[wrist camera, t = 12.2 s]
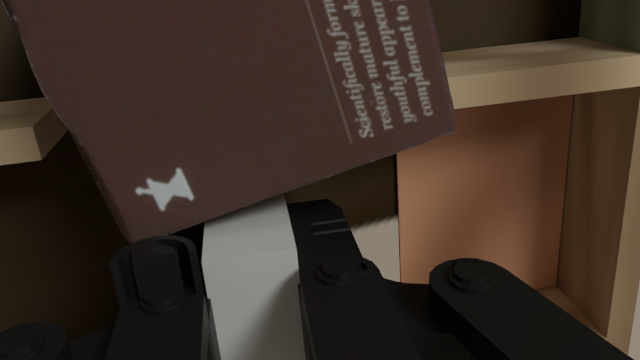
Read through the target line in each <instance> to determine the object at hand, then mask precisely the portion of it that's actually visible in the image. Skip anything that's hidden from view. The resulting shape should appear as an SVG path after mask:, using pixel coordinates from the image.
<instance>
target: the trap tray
mask: <svg viewBox="0 0 640 360" xmlns="http://www.w3.org/2000/svg"><path fill="white" fill-rule="evenodd" d="M442 56H443V60H444V65H445V70H446V75H447V79H448V84H449V89H450V94H451V97H452V101H453V106H454V114H455V120H456V128H457V129H456V131H455V132H454V133H452V134H449V135H446V136H443V137H440V138H437V139H434V140H432V141H429V142H427V143H424V144H421V145H418V146H415V147H413V148H410V149H407V150H404V151H401V152H398V153H396V162H397V193H398V224H399V253H400V254H399V256H400V282H403V283H416V284H429V273H430V272H431V271H432V270H433V268H434V267H435V266H437V265H439V264H441V263H443V262H445V261H448V260H454V259H459V258H478V259H481V260H485V261H489V262H493V263H495V264H497V265H499V266H501V267H503V268H505V269H507V270H508V271H509V272H511V273H512V274H514V275H515V276H516V277H518V278H519V279H521V280H522V281H523V282H525V283H526V284H528V285H529V286H531V287H532V288H533V289H535V290H536V291H538V292H539V293H540V294H542V295H543V296H545V297H546V298H547V299H549V300H550V301H552V302H553V303H554V304H556V305H557V306H559V307H560V308H562V309H563V310H564V311H566V312H567V313H569V314H570V315H571V316H573V317H574V318H576V319H577V320H578V321H580V322H581V323H583V324H584V325H586V326H587V327H588V328H590V329H591V330H593V331H594V332H595V333H597V334H598V335H600V336H601V337H602V338H604V339H605V340H607V341H608V342H609V343H611V344H612V345H614V346H615V347H617V348H618V349H619V350H621V351H622V352H624V353H625V354H626V355H628V350H629V343H630V337H631V331H632V324H633V318H634V311H635V305H636V299H637V292H638V286H639V279H640V0H582V1H581V12H580V23H579V34H578V37H574V38H565V39H556V40H547V41H538V42H529V43H521V44H512V45H503V46H494V47H485V48H476V49H467V50H458V51H450V52H442ZM67 131H68V128H67V127H66V125H65V124H64V123H63V122H62V120H61V119H60V118H59V117H58V116H57V114H56V113H55V112H54V110H53V109H52V107H51V105H50V103H49V102H48V100H47V99H46V98H45V97H41V98H32V99H23V100H14V101H5V102H0V165H7V164H15V163H23V162H31V161H39V160H43V158H44V157H45V156H46V155H47V154H48V153H49V151H50V150H51V149H52V148H53V147H54V146H55V144H56V143H57V142H58V141H59V140H60V139H61V138H62V136H63V135H64V134H65V133H66V132H67Z"/></svg>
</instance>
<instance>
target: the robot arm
mask: <svg viewBox="0 0 640 360" xmlns="http://www.w3.org/2000/svg"><path fill="white" fill-rule="evenodd" d="M109 265H110V269H111V273H112V277H113V281H114V285H115V289H116V293H117V297H118V301H119V305H120V308H119V312H118V315H117V318H116V322H114V323H112V324H111V325H109V326H107V327H105V328H102V329H100V330H97V331H95V332H92V333H89V334H86V335H83V336H80V337H78V338H75V339H72V340H69V341H68V337H67V334H66V330H65V329H64V328H63V327H61V326H60V325H58V324H57V323H50V322H35V323H26V324H21V325H18V326H17V327H16V326H14V327H12V328H9V329H7V330H5V331H4V332H2V333H0V360H633V359H632V358H631V357H629V356H628V355H626V354H625V353H624V352H622V351H621V350H619V349H618V348H617V347H615V346H614V345H612V344H611V343H609V342H608V341H607V340H605V339H604V338H602V337H601V336H600V335H598V334H597V333H595V332H594V331H593V330H591V329H590V328H588V327H587V326H586V325H584V324H583V323H581V322H580V321H578V320H577V319H576V318H574V317H573V316H571V315H570V314H569V313H567V312H566V311H564V310H563V309H562V308H560V307H559V306H557V305H556V304H554V303H553V302H552V301H550V300H549V299H547V298H546V297H545V296H543V295H542V294H540V293H539V292H538V291H536V290H535V289H533V288H532V287H531V286H529V285H528V284H526V283H525V282H523V281H522V280H521V279H519V278H518V277H516V276H515V275H514V274H512V273H511V272H509V271H508V270H507V269H505V268H503V267H501V266H499V265H497V264H495V263H493V262H489V261H485V260H481V259H478V258H459V259H454V260H448V261H445V262H443V263H441V264H439V265H437V266H435V267H434V268H433V270H432V271H431V272H430V273H429V284H416V283H403V282H395V281H392V280H388V279H384V278H383V277H382V275H381V273H380V271H379V269H378V268H377V267H376V265H375V264H374V263H373V262H372V261H370V260H367V259H365V258H363V257H362V255H361V252H360V250H359V248H358V246H357V243H356V241H355V239H354V236H353V234H352V232H351V230H350V227H349V225H348V223H347V221H346V218H345V216H344V214H343V211H342V209H341V207H339V206H338V205H336V204H335V203H333V202H331V201H330V200H328V199H322V200H314V201H307V202H299V203H291V204H286V201H285V197H284V193H282V194H279V195H276V196H273V197H270V198H268V199H265V200H262V201H260V202H257V203H254V204H251V205H248V206H246V207H243V208H240V209H237V210H234V211H232V212H229V213H226V214H223V215H221V216H218V217H215V218H212V219H210V220H207V221H204V222H202V223H199V224H196V225H193V226H191V227H188V228H185V229H182V230H180V231H177V232H175V233H172V234H169V235H166V236H155V237H150V238H145V239H141V240H139V241H136V242H134V243H131V244H129V245H126V246H125V247H123V248H122V249H120V250H119V251H117V252H116V253H115V254H114V255H113V256H112V258H111V259H110V261H109Z"/></svg>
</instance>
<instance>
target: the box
mask: <svg viewBox="0 0 640 360" xmlns="http://www.w3.org/2000/svg"><path fill="white" fill-rule="evenodd" d="M0 1H1V3H2V5H3V7H4V9H5V11H6V13H7V15H8V17H9V20H10V21H11V23H12V25H13V26H14V28H15V30H16V32H17V33H18V35H19V37H20V39H21V41H22V43H23V45H24V47H25V50H26V54H27V57H28V60H29V63H30V66H31V68H32V71H33V73H34V75H35V77H36V80H37V82H38V84H39V86H40V89H41V91H42V93H43V95H44V96H45V98H46V99H47V100H48V102H49V103H50V105H51V107H52V109H53V110H54V112H55V113H56V114H57V116H58V117H59V118H60V119H61V120H62V122H63V123H64V124H65V125H66V127H67V128H68V130H69V132H70V134H71V136H72V138H73V140H74V142H75V144H76V145H77V147H78V149H79V151H80V154H81V156H82V158H83V160H84V162H85V163H86V165H87V167H88V169H89V171H90V173H91V175H92V177H93V179H94V181H95V183H96V184H97V186H98V188H99V190H100V192H101V194H102V196H103V198H104V200H105V203H106V205H107V207H108V209H109V210H110V212H111V214H112V216H113V217H114V219H115V221H116V223H117V225H118V227H119V229H120V231H121V233H122V235H123V236H124V237H125V239H126V240H127V241H128V242H129V243H130V244H131V243H134V242H136V241H139V240H141V239H145V238H150V237H155V236H166V235H169V234H172V233H175V232H177V231H180V230H182V229H185V228H188V227H191V226H193V225H196V224H199V223H202V222H204V221H207V220H210V219H212V218H215V217H218V216H221V215H223V214H226V213H229V212H232V211H234V210H237V209H240V208H243V207H246V206H248V205H251V204H254V203H257V202H260V201H262V200H265V199H268V198H270V197H273V196H276V195H279V194H282V193H285V192H287V191H290V190H293V189H296V188H299V187H302V186H305V185H307V184H310V183H313V182H316V181H319V180H322V179H325V178H327V177H330V176H333V175H336V174H339V173H342V172H345V171H347V170H350V169H353V168H356V167H359V166H362V165H365V164H368V163H370V162H373V161H375V160H379V159H382V158H384V157H387V156H390V155H393V154H396V153H398V152H401V151H404V150H407V149H410V148H413V147H415V146H418V145H421V144H424V143H427V142H429V141H432V140H434V139H437V138H440V137H443V136H446V135H449V134H452V133H454V132H455V131H456V129H457V128H456V120H455V114H454V106H453V101H452V97H451V94H450V89H449V84H448V79H447V75H446V70H445V65H444V60H443V56H442V51H441V47H440V41H439V36H438V32H437V28H436V24H435V20H434V15H433V11H432V8H431V5H430V0H0Z"/></svg>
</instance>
